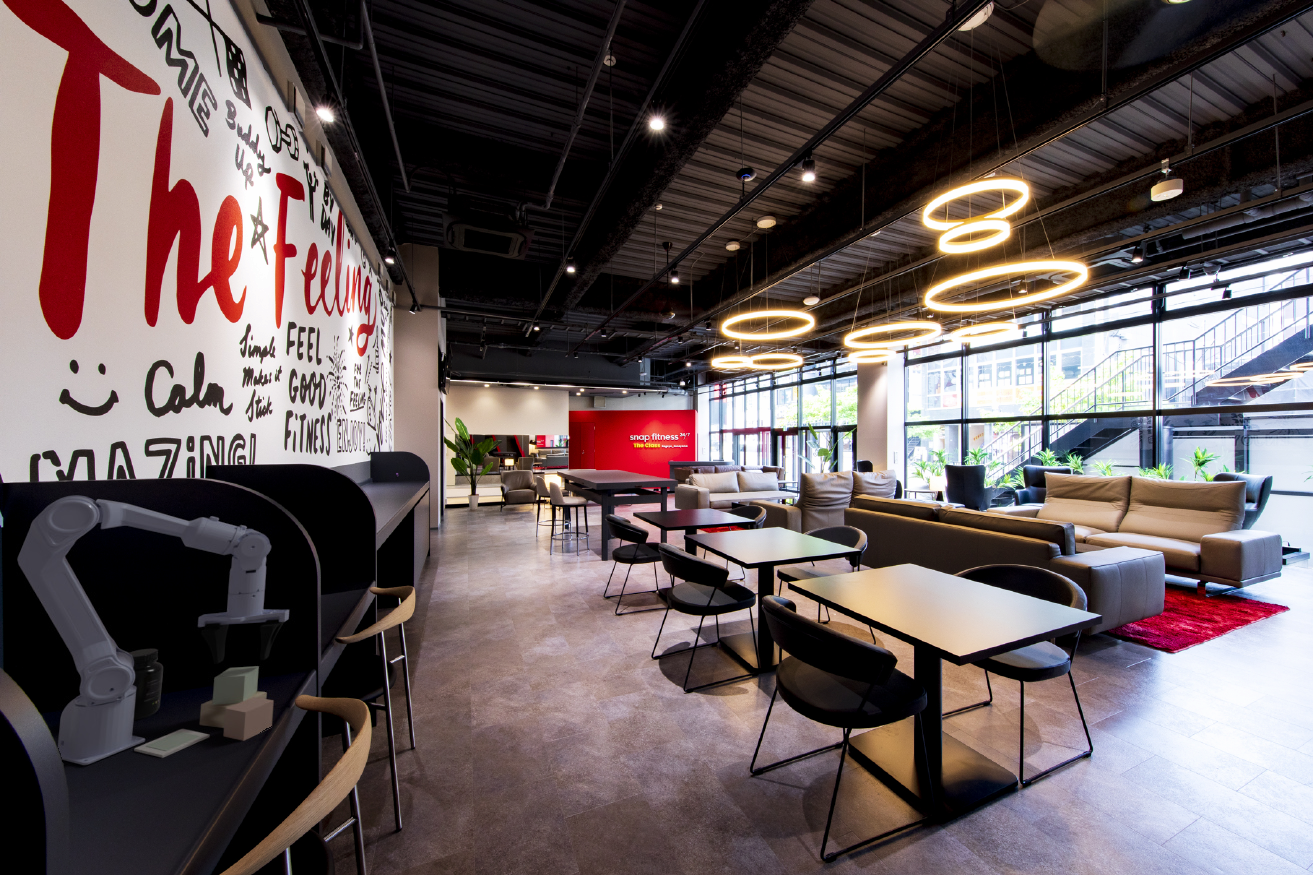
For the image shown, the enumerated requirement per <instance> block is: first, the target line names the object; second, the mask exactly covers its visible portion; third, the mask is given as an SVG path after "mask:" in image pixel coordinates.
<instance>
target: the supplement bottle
mask: <svg viewBox="0 0 1313 875" xmlns="http://www.w3.org/2000/svg"><path fill="white" fill-rule="evenodd" d="M128 653H129V654H130V655H131V656H132V657H133V659H134V666H133V670H134V672H135V680H134V683H133V685H134V686H136V697H135V708H134V720H133V722H135V721H138V720H142V719H145V718H147V717H150V716H152V715H154V714H155V713H156V712H157V711H158V710H159V709H160V706H161V697H162V696H161V695H162V694H161V693H162V687H163V686H162V684H163V677H164V676H163V675H164V674H163V673H164V666H163V664H162V663H160V662H157V661H158V658H159V656H158V654H159V649H157V648H144V649H137V650H134V651H130V652H128Z"/></svg>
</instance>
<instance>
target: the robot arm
mask: <svg viewBox="0 0 1313 875" xmlns="http://www.w3.org/2000/svg"><path fill="white" fill-rule="evenodd" d="M219 520H220V518H219V517H217V516H210V517H202V516H201V517H198V518H195V519H193V520H186V519H182V518H179V517H175V516H171V515H168V514H165V513H163V512H158V511H154V510H150V509H147V508H143V507H140V506H137V505H133V504H130V503H126V502H119V501H113V500H109V499H99V498H98V499H96V500H94V499H93V498H90V497H89V496H84V495H68V496H64V497H61V498H59V499H56V500H55V501H54V502H52V503H50V504H49V505H47V506H46V507H45V508H44V509H43V510H42V511H41V512H40V513H39V514H38V515H37V516H36V517H35V518H34V519H33V520H32V522H31V523H30V528H29V530H28V532H27V535H26V537H25V540H24V541H23V545H22V547H21V549H20V552H19V554H18V556H17V559H16V560H17V563H18V566H19V567H20V569H21V571H22V573H23V574H24V575H25V578H26V579H27V581H28V583H29V584H30V586H31V588H32V590H33V591H34V592H35V594H36V596H37V598H38V599H39V602H41V605H42V607H43V608H44V610H45V611H46V613H47V614H48V616H49V618H50V620H51V622H52V623H53V625H54V627H55V628H56V630H57V632H58V633H59V635H60V637H61V639H62V640H63V642H64V644H65V645H66V647H67V648H68V650H69V652H70V654H71V656H72V658H73V659H72V660H73V662H74V664H75V668H76V671H77V672H78V674H79V675H80V684H79V693H80V694H79V695H78V696H76V697H75V698H74V699H72V700H71V701H70V702H69V703H68V704H67V705H66V706H65V707H64V709H63V711H62V713H61V715H60V722H59V732H58V741H57V749H58V748H59V751H60V753H61V757H62V759H61V760H63V761H67V762H70V763H74V764H76V765H77V764H78V765H82V766H87V765H90V764H93V763H96V762H97V761H100V760H102V759H105V758H107V757H111V756H112V755H115V754H117V753H120V752H122V751H125V750H127V749H129V748H132V747H134V746H137V745H140V744H142V743H145V741H146V738H144V737H140V736H137V735H133V728H134V721H133V720H134V708H135V697H136V686H134V685H133V683H134V680H135V672H134V670H133V666H134V659H133V657H132V656H131V655H130V654H129V653H130V652H128V651H125V650H123V649H121V648H119V647H118V645H117V643H116V641H115V639H113V638H112V636H111V635H110V634H109V633H108V632H109V631H107V629H106V627H105V625H104V624H103V621H102V620H101V618H100V616H99V615H98V613H97V610H95V608H94V605H93V604H92V602H91V600H90V598H89V597H88V595H87V594H86V592H85V590H84V588H83V586H82V585H81V583H80V581H79V579H78V578H77V576H76V574H75V572H74V570H73V568H72V567H71V565H70V563H69V562H68V559H67V557H66V556H67V554H68V553H69V551H70V550H71V548H72V547H73V546H74V545H75V544H76V542H77V541H78V539H80V538H81V537H82V536H84V535H85V534H87V533H88V532H89V531H91V530H92V529H93V528H94V527H95V526H96V525H97V524H99V523H100V529H101V530H105V529H111V528H117V527H123V526H126V527H127V526H128V527H130V528H131V527H132V528H136V529H142V530H145V531H150V532H156V533H158V534H159V533H160V534H165V535H168V536H173V537H178V538H181V541H182V543H183V544H184V546H185V547H188V548H193V549H197V550H202V551H206V552H210V553H215V554H219V555H223V556H226V555H230V554H231V555H232V557H231V568H230V570H229V578H228V579H229V580H228V581H229V582H228V593H227V607H226V608H227V609H226V612H218V613H207V614H202V615H200V616H198V620H197V627H198V628H202V627H203V629H202V630H201V631H200V632H201V633H200V635H201V636H202V637H203V639H204V640H205V641H206V643H207V645H208V647H209V649H210V652H211V655H212V659H213V664H214V665H217V664H220V663H221V662H223V661H224V659H225V654H226V652H225V649H226V641H227V639H226V638H227V634H228V630H229V625H237V624H238V625H239V624H254V623H263V624H261V626H259V632H260V639H261V640H260V644H261V645H260V652H259V660H260V661H265V660H267V659H268V658H269V657H270V652H271V650H272V646H273V643H274V641H275V639H276V637H277V635H278V633H279V631H280V629H281V628H282V626H283V625H284V623H285V622H287V621H288V620H289V619H290V618H289V617H290V609H264V606H265V605H264V603H265V590H266V577H267V576H266V575H267V566H266V564H267V555H269V553H270V551H271V550H272V545H271V543H270V539H269V537H267V535H265V534H264V533H261V532H259V531H258V530H254V529H253V528H248V527H247V526H246V525H242V524H240V525H239V526H237V525H233V524H229V523H225V522H222V521H219Z"/></svg>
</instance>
